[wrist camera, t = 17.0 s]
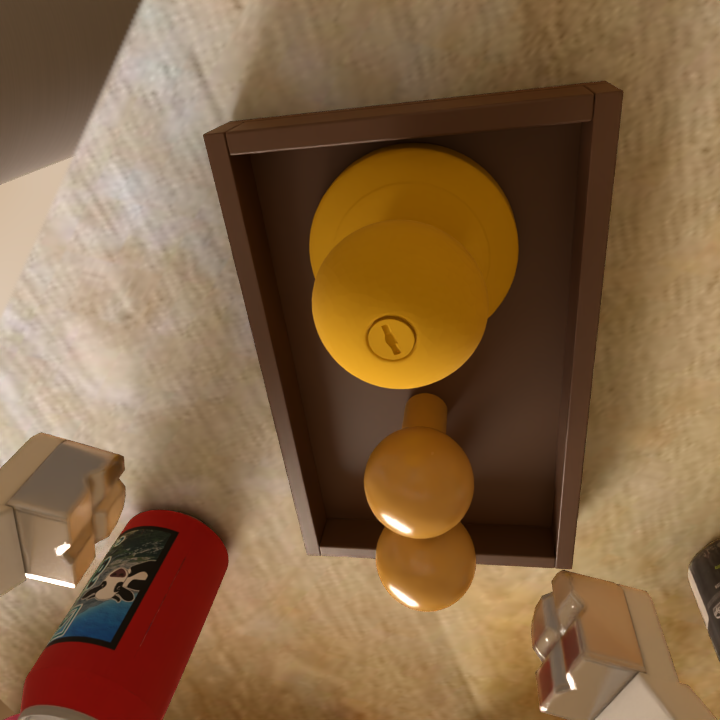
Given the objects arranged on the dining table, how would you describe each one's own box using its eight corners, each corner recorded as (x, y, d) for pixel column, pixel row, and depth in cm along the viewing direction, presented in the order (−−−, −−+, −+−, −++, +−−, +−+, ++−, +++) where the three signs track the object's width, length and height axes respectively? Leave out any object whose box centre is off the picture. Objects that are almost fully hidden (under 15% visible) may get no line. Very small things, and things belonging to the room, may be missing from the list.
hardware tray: (317, 519, 33) (306, 555, 31) (228, 121, 22) (202, 134, 20) (564, 528, 30) (572, 569, 28) (606, 80, 19) (623, 90, 17)
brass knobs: (392, 509, 31) (374, 629, 25) (375, 371, 26) (347, 477, 20) (476, 512, 30) (477, 637, 24) (472, 369, 25) (473, 480, 19)
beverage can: (154, 482, 33) (19, 687, 23) (252, 537, 35) (164, 755, 25) (116, 538, 37) (-15, 738, 27) (206, 587, 38) (113, 795, 28)
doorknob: (479, 104, 20) (540, 302, 23) (280, 189, 22) (362, 355, 26) (483, 151, 13) (567, 414, 17) (207, 262, 16) (327, 468, 19)
